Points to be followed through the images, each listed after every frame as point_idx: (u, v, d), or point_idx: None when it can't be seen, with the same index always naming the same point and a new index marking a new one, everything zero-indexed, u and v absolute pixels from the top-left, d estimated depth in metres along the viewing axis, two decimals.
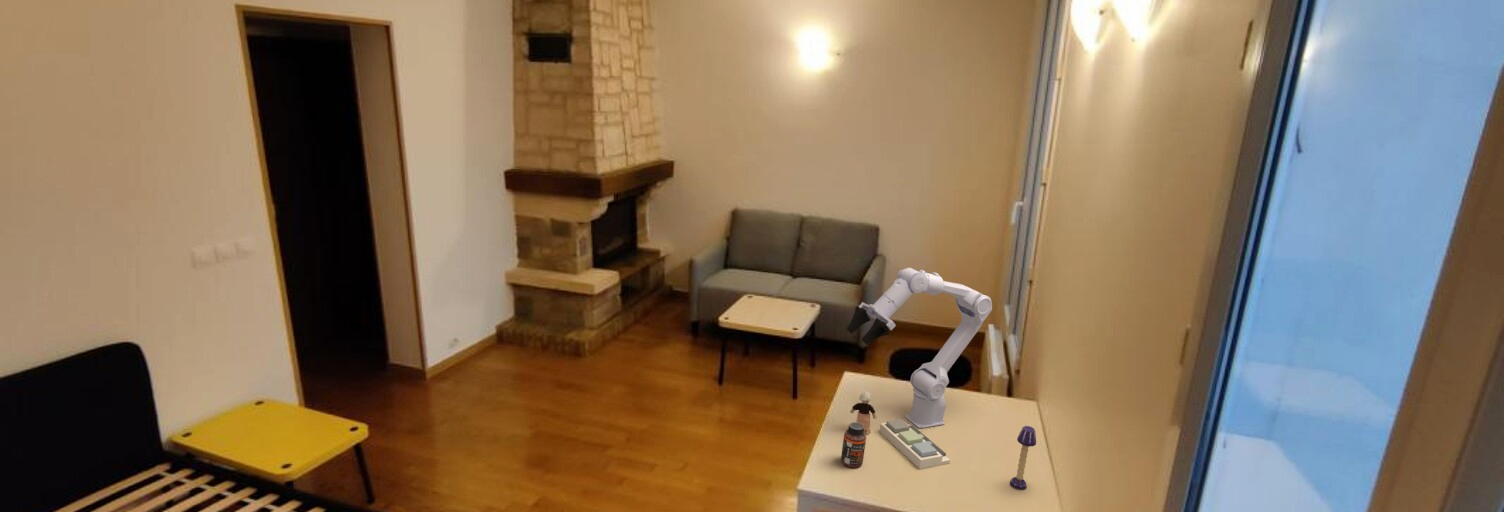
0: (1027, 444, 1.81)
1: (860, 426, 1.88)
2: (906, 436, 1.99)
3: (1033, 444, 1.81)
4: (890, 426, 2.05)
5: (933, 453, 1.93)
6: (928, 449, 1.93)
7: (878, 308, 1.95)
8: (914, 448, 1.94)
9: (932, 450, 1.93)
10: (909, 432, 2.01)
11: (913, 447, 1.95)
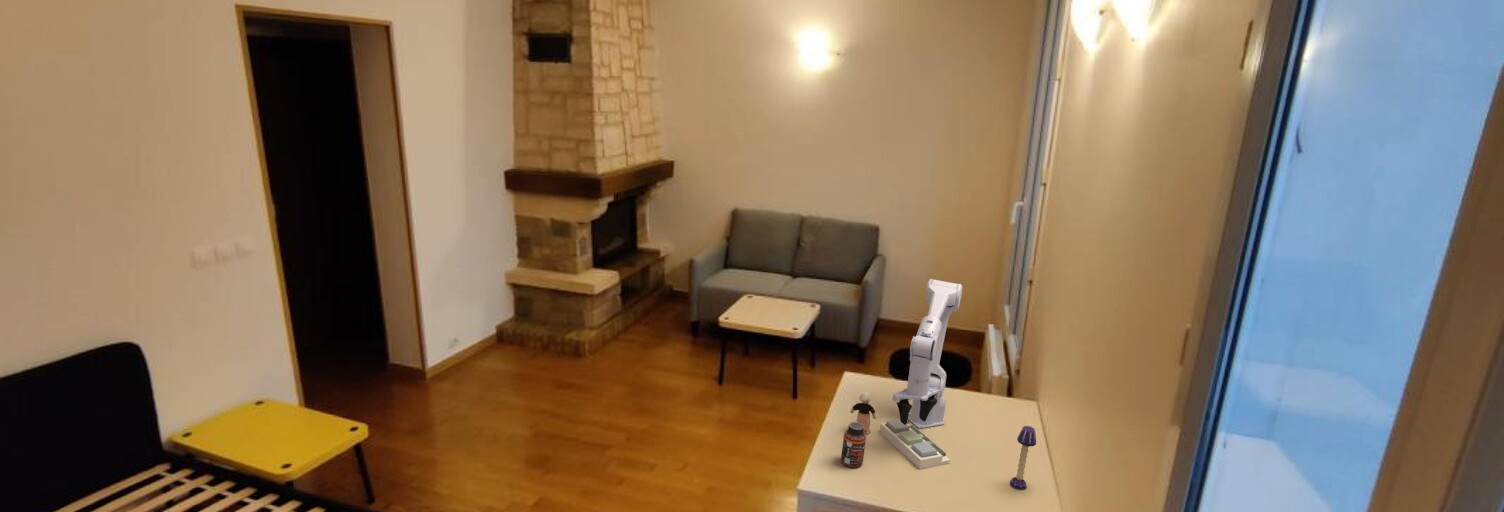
0: (1027, 444, 1.81)
1: (860, 426, 1.88)
2: (906, 436, 1.99)
3: (1033, 444, 1.81)
4: (890, 426, 2.05)
5: (933, 453, 1.93)
6: (928, 449, 1.93)
7: (926, 393, 1.94)
8: (914, 448, 1.94)
9: (932, 450, 1.93)
10: (909, 432, 2.01)
11: (913, 447, 1.95)
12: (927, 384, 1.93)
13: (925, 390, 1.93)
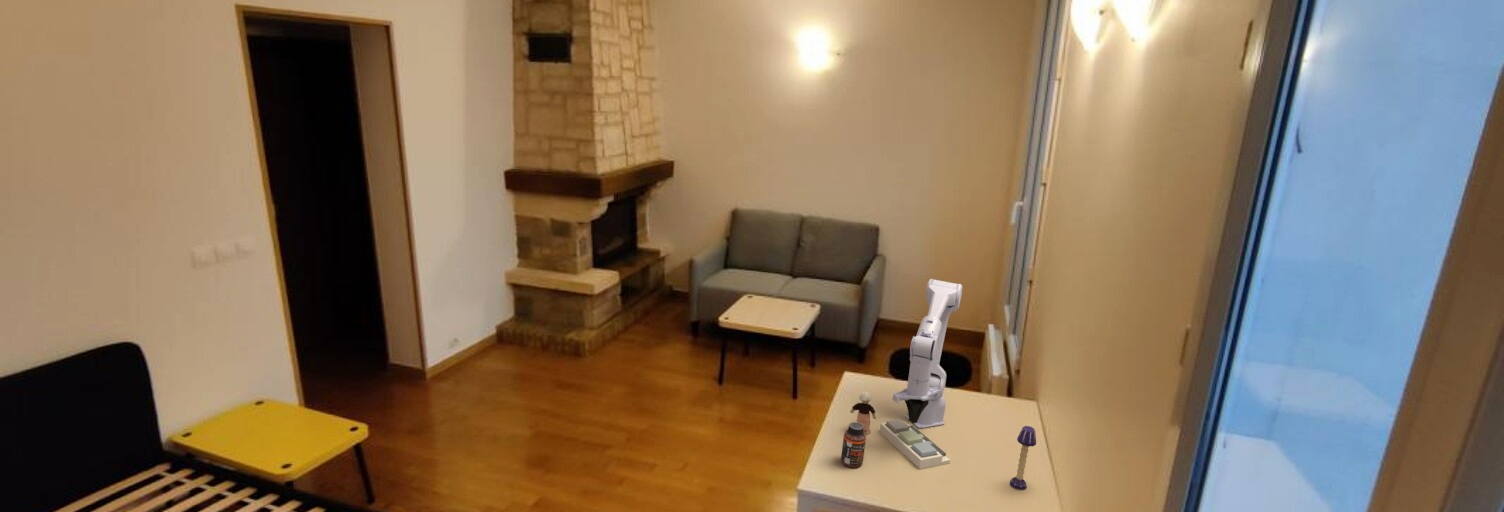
0: (1027, 444, 1.81)
1: (860, 426, 1.88)
2: (906, 436, 1.99)
3: (1033, 444, 1.81)
4: (890, 426, 2.05)
5: (933, 453, 1.93)
6: (928, 449, 1.93)
7: (926, 393, 1.94)
8: (914, 448, 1.94)
9: (932, 450, 1.93)
10: (909, 432, 2.01)
11: (913, 447, 1.95)
12: (927, 384, 1.93)
13: (925, 390, 1.93)
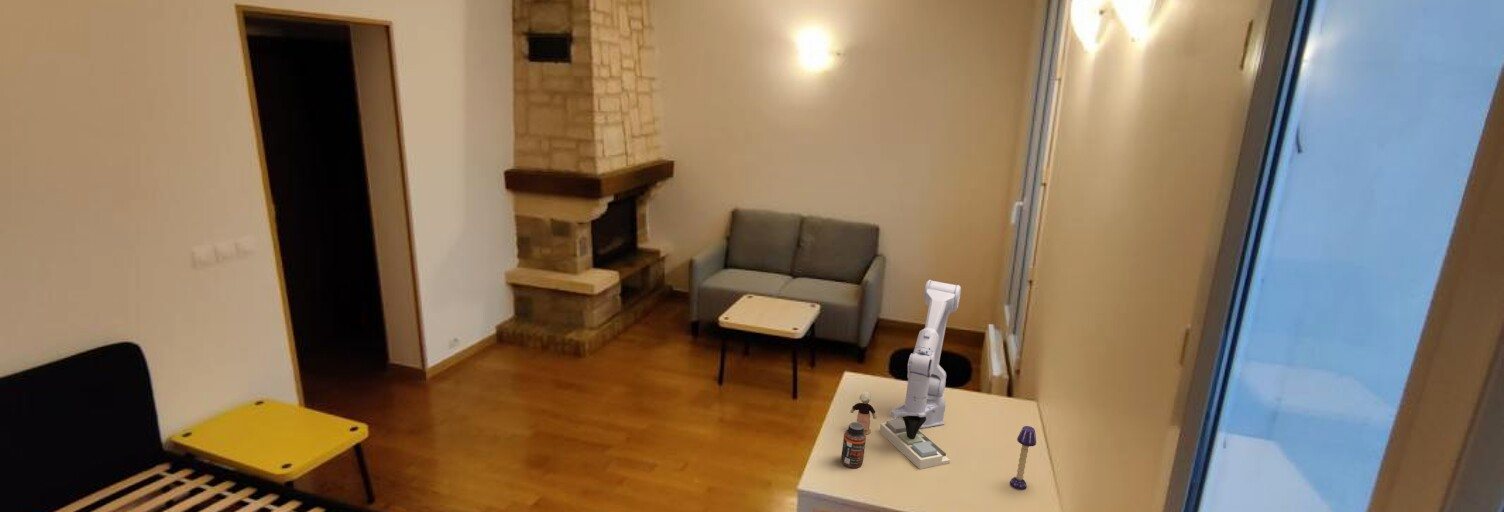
0: (1027, 444, 1.81)
1: (860, 426, 1.88)
2: (906, 438, 1.99)
3: (1033, 444, 1.81)
4: (890, 426, 2.05)
5: (933, 453, 1.93)
6: (928, 449, 1.93)
7: (924, 410, 1.95)
8: (914, 448, 1.94)
9: (932, 450, 1.93)
10: None
11: (913, 447, 1.95)
12: (925, 401, 1.94)
13: (923, 407, 1.95)
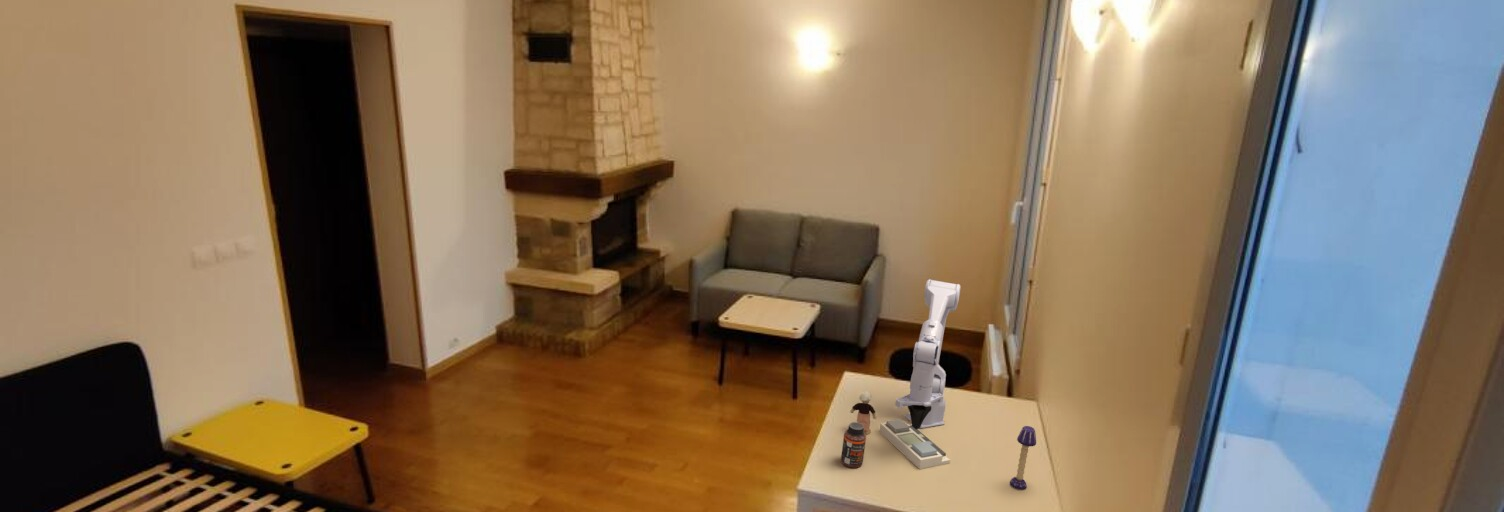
0: (1027, 444, 1.81)
1: (860, 426, 1.88)
2: (905, 440, 1.99)
3: (1033, 444, 1.81)
4: (890, 426, 2.05)
5: (933, 453, 1.93)
6: (928, 449, 1.93)
7: (929, 399, 1.93)
8: (914, 448, 1.94)
9: (932, 450, 1.93)
10: (908, 436, 2.01)
11: (913, 447, 1.95)
12: (930, 390, 1.92)
13: (928, 396, 1.92)
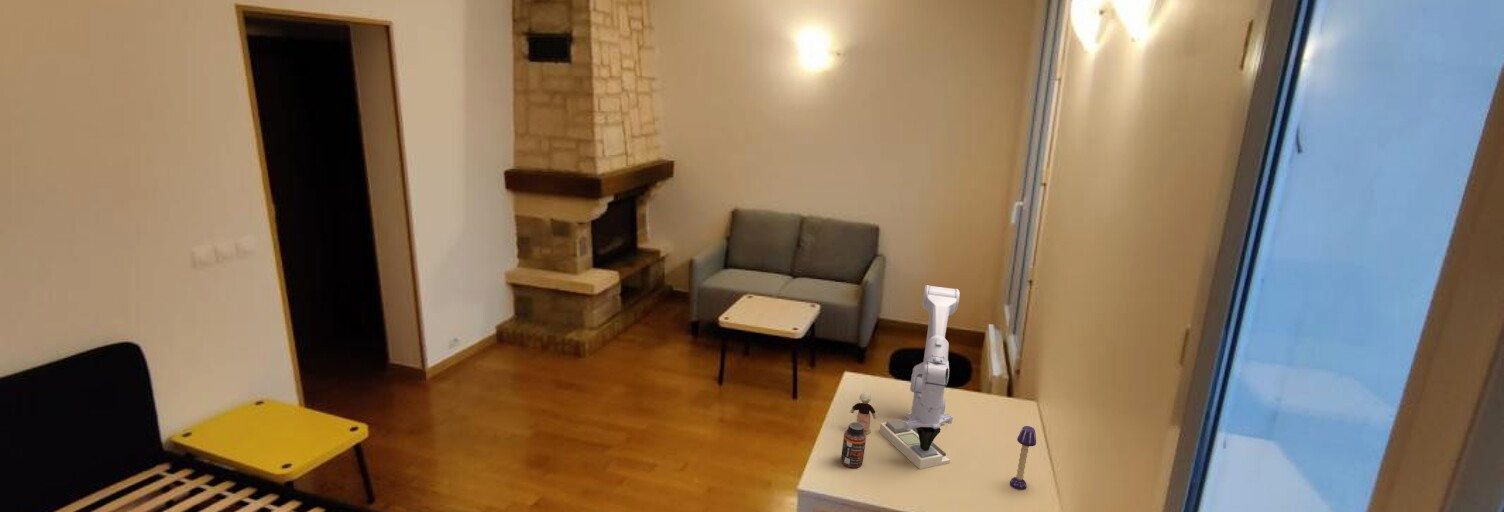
0: (1027, 444, 1.81)
1: (860, 426, 1.88)
2: (905, 440, 1.99)
3: (1033, 444, 1.81)
4: (890, 426, 2.05)
5: (933, 455, 1.93)
6: (928, 451, 1.93)
7: (938, 421, 1.90)
8: (914, 450, 1.94)
9: (932, 452, 1.93)
10: (908, 436, 2.01)
11: (913, 449, 1.95)
12: (939, 411, 1.89)
13: (937, 418, 1.89)
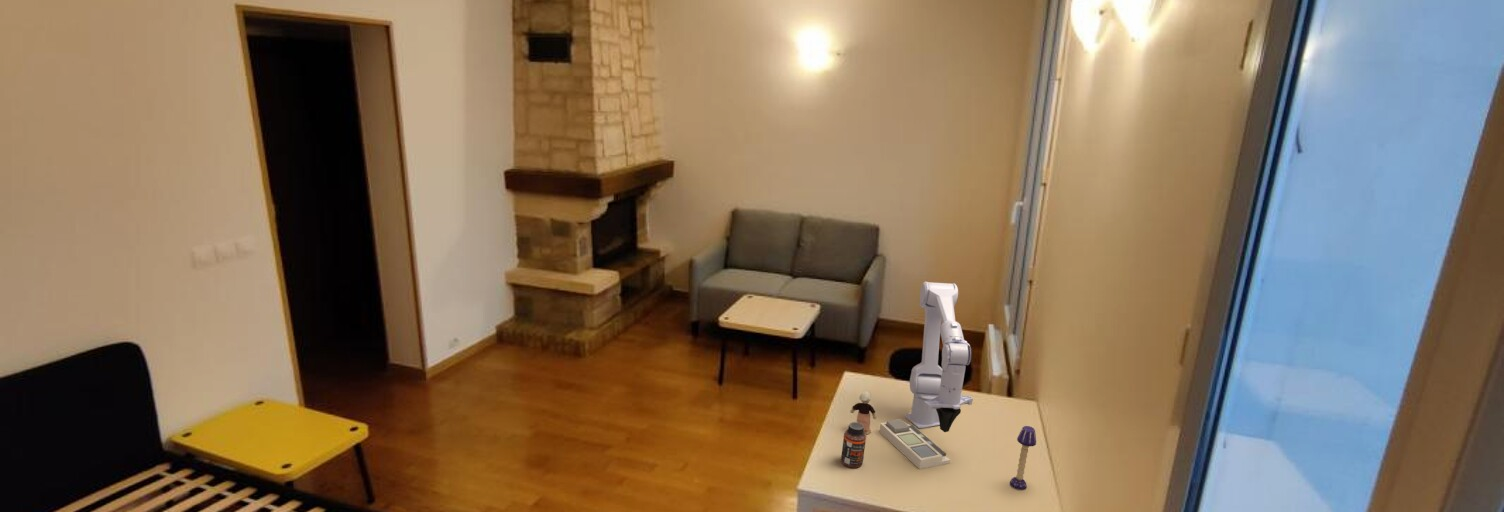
0: (1027, 444, 1.81)
1: (860, 426, 1.88)
2: (905, 440, 1.99)
3: (1033, 444, 1.81)
4: (890, 426, 2.05)
5: None
6: (927, 453, 1.93)
7: (959, 402, 1.89)
8: None
9: (931, 454, 1.93)
10: (908, 436, 2.01)
11: None
12: (960, 392, 1.88)
13: (957, 398, 1.88)
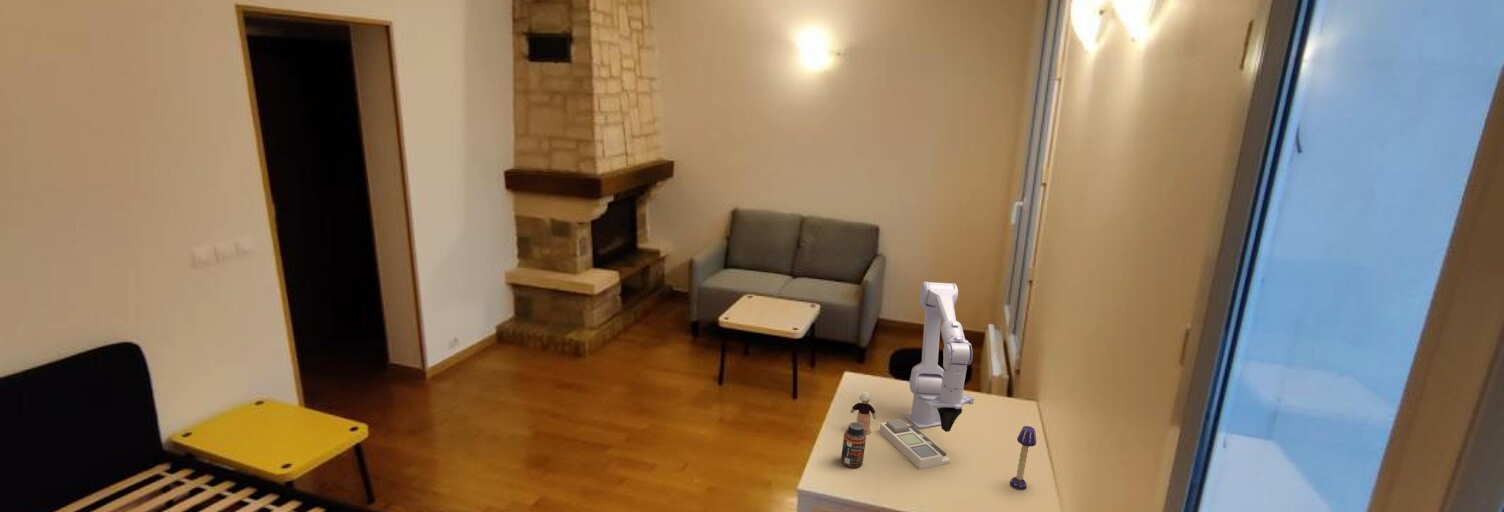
0: (1027, 444, 1.81)
1: (860, 426, 1.88)
2: (905, 440, 1.99)
3: (1033, 444, 1.81)
4: (890, 426, 2.05)
5: None
6: (927, 453, 1.93)
7: (960, 401, 1.89)
8: None
9: (931, 454, 1.93)
10: (908, 436, 2.01)
11: None
12: (961, 392, 1.88)
13: (959, 398, 1.88)
